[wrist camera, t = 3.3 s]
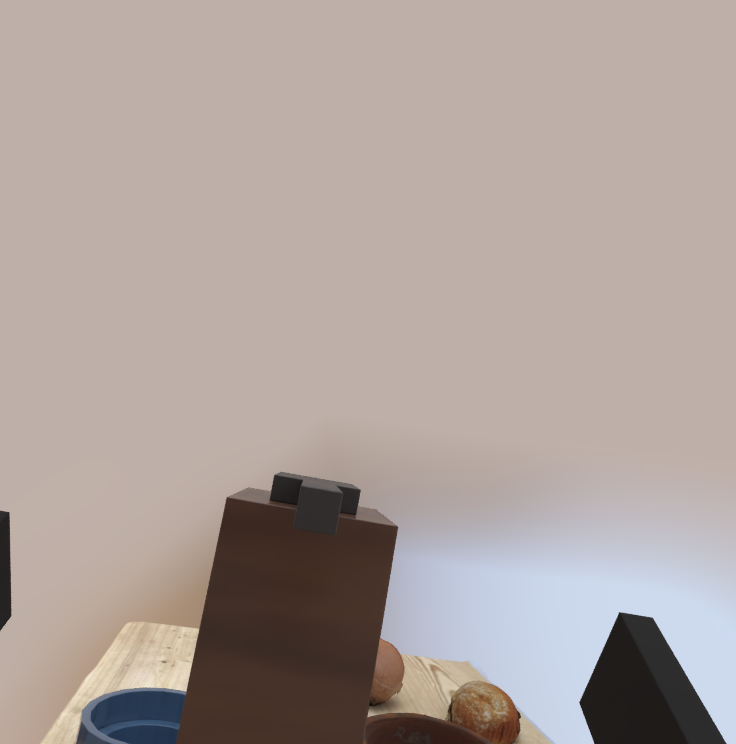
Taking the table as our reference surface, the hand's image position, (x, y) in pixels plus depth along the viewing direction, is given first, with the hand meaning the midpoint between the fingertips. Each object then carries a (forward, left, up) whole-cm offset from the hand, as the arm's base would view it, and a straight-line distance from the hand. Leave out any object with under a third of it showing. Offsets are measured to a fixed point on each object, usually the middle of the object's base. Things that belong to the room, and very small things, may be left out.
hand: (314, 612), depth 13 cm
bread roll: (+30, +76, -30) cm, 87 cm away
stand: (0, +28, -30) cm, 41 cm away
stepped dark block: (0, +23, 0) cm, 23 cm away
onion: (+14, +81, -30) cm, 87 cm away
